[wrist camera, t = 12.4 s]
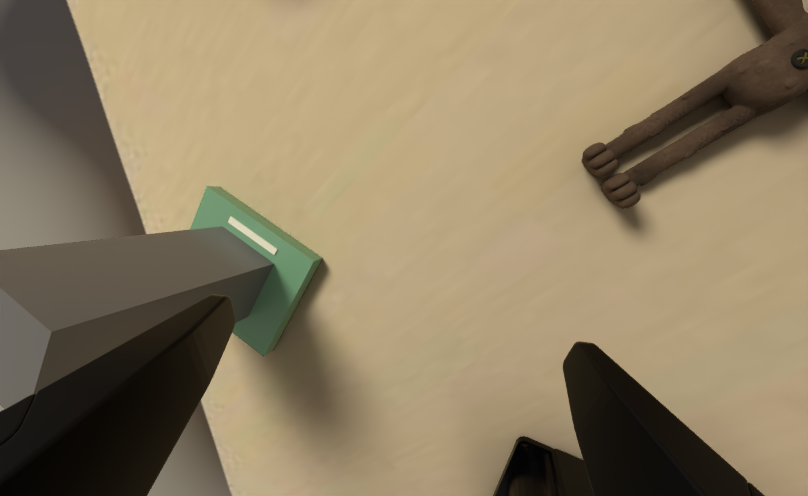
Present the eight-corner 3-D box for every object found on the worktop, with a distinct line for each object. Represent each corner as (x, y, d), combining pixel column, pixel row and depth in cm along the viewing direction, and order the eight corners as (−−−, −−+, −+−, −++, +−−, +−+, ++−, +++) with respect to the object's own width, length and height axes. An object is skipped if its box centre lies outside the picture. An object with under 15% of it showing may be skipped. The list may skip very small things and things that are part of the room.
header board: (322, 258, 24) (302, 265, 21) (273, 349, 26) (250, 365, 24) (219, 186, 25) (190, 185, 23) (182, 279, 28) (151, 288, 25)
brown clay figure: (501, 34, 16) (887, -311, 11) (505, 62, 20) (788, -179, 15) (711, 333, 16) (1226, 138, 10) (673, 302, 20) (1030, 148, 14)
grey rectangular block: (274, 263, 24) (51, 331, 12) (248, 316, 25) (23, 426, 13) (222, 226, 24) (-39, 254, 12) (199, 279, 26) (-56, 352, 14)
